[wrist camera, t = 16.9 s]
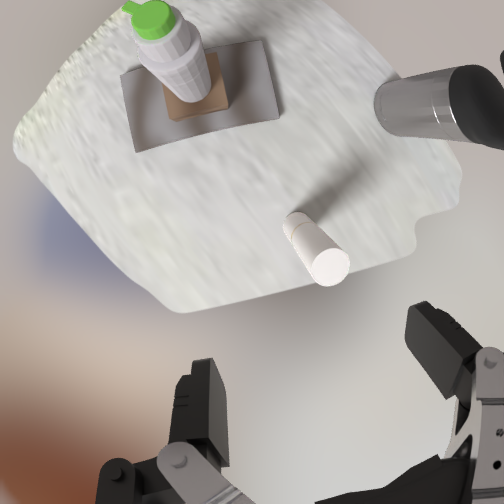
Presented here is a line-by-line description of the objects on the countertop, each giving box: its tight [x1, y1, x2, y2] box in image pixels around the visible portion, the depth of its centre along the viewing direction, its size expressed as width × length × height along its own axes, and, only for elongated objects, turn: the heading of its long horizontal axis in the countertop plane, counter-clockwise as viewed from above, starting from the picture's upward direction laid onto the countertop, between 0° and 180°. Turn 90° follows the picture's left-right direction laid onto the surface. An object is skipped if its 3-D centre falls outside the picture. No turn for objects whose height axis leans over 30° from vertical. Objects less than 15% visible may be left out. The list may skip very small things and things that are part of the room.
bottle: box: [122, 0, 211, 103], centre depth 19 cm, size 4×4×20 cm
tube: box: [283, 212, 350, 286], centre depth 35 cm, size 4×4×15 cm
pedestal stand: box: [120, 40, 280, 153], centre depth 31 cm, size 20×12×6 cm, turn 101°
